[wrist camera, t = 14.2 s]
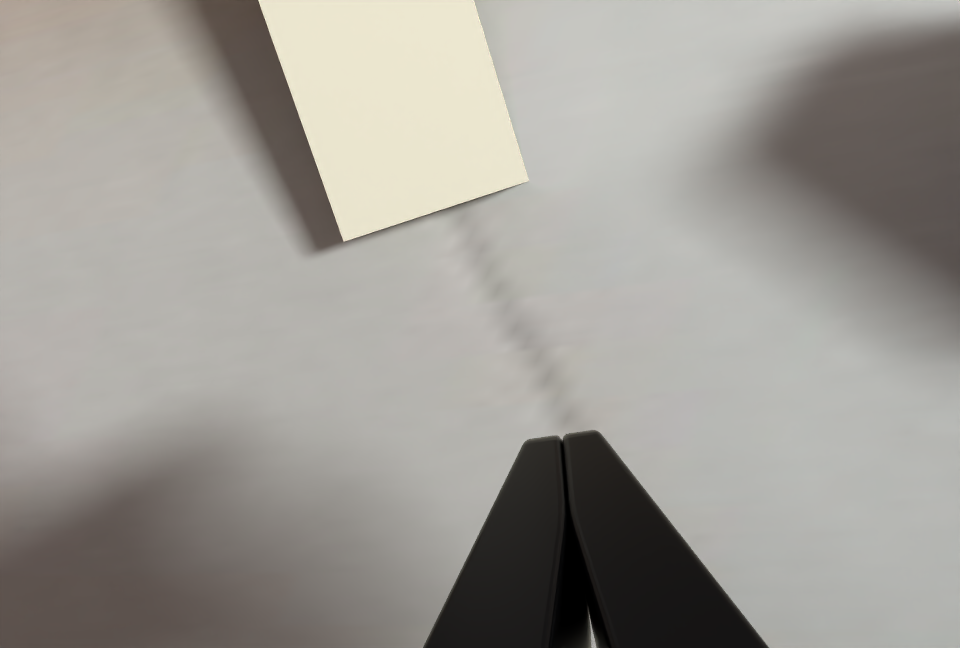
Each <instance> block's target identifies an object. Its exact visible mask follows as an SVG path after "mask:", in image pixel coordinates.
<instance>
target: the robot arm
mask: <svg viewBox="0 0 960 648" xmlns="http://www.w3.org/2000/svg"><path fill="white" fill-rule="evenodd" d="M589 615H590V619H589ZM590 620H591V624H592V629H593V634H594V638H595V642H596V647H597V648H769V647H768V646H767V644H766V643H765V642H764V641H763V639H762V638H761V637H760V636H759V634H758V633H757V632H756V630H755V629H754V628H753V627H752V625H751V624H750V623H749V622H748V620H747V619H746V618H745V616H744V615H743V614H742V613H741V611H740V610H739V609H738V608H737V606H736V605H735V604H734V602H733V601H732V600H731V599H730V597H729V596H728V595H727V594H726V592H725V591H724V590H723V588H722V587H721V586H720V585H719V583H718V582H717V581H716V580H715V578H714V577H713V576H712V574H711V573H710V572H709V571H708V569H707V568H706V567H705V565H704V564H703V563H702V562H701V560H700V559H699V558H698V557H697V555H696V554H695V553H694V551H693V550H692V549H691V548H690V546H689V545H688V544H687V543H686V541H685V540H684V539H683V537H682V536H681V535H680V534H679V532H678V531H677V530H676V529H675V527H674V526H673V525H672V523H671V522H670V521H669V520H668V518H667V517H666V516H665V515H664V513H663V512H662V511H661V509H660V508H659V507H658V506H657V504H656V503H655V502H654V501H653V499H652V498H651V497H650V495H649V494H648V493H647V492H646V490H645V489H644V488H643V486H642V485H641V484H640V483H639V481H638V480H637V479H636V478H635V476H634V475H633V474H632V472H631V471H630V470H629V469H628V467H627V466H626V465H625V464H624V462H623V461H622V460H621V458H620V457H619V456H618V455H617V453H616V452H615V451H614V450H613V448H612V447H611V446H610V444H609V443H608V442H607V441H606V439H605V438H604V437H603V436H602V434H601V433H599V432H598V431H596V430H590V431H583V432H576V433H569V434H566V435H565V436H564V437H563V442H562V439H561V438H560V437H559V436H548V437H541V438H534V439H529V440H527V441H526V442H525V443H524V444H523V446H522V448H521V450H520V452H519V454H518V456H517V458H516V460H515V462H514V464H513V466H512V468H511V470H510V472H509V474H508V476H507V478H506V480H505V482H504V484H503V486H502V488H501V490H500V492H499V494H498V496H497V498H496V500H495V502H494V504H493V506H492V508H491V511H490V513H489V515H488V517H487V519H486V521H485V523H484V525H483V527H482V529H481V531H480V533H479V535H478V537H477V539H476V541H475V543H474V545H473V547H472V549H471V551H470V553H469V555H468V557H467V559H466V561H465V563H464V565H463V567H462V569H461V571H460V573H459V575H458V578H457V580H456V582H455V584H454V586H453V588H452V590H451V592H450V594H449V596H448V598H447V600H446V602H445V604H444V606H443V608H442V610H441V612H440V614H439V616H438V618H437V620H436V622H435V624H434V626H433V628H432V630H431V632H430V634H429V636H428V638H427V640H426V643H425V645H424V647H423V648H591V629H590Z"/></svg>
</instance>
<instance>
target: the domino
mask: <svg viewBox="0 0 960 648" xmlns="http://www.w3.org/2000/svg"><path fill="white" fill-rule="evenodd" d="M258 1H259V4H260V7H261V10H262V12H263V15H264V18H265V21H266V24H267V26H268V29H269V32H270V35H271V38H272V41H273V43H274V46H275V49H276V52H277V55H278V58H279V60H280V63H281V66H282V69H283V72H284V74H285V77H286V80H287V83H288V86H289V89H290V91H291V94H292V97H293V100H294V103H295V106H296V108H297V111H298V114H299V117H300V120H301V123H302V125H303V128H304V131H305V134H306V137H307V139H308V142H309V145H310V148H311V151H312V154H313V156H314V159H315V162H316V165H317V168H318V171H319V173H320V176H321V179H322V182H323V185H324V188H325V190H326V193H327V196H328V199H329V202H330V204H331V207H332V210H333V213H334V216H335V219H336V221H337V224H338V227H339V230H340V233H341V236H342V238H343V241H347V240H350V239H353V238H357V237H360V236H363V235H366V234H369V233H372V232H375V231H378V230H381V229H384V228H387V227H390V226H393V225H396V224H399V223H402V222H405V221H408V220H411V219H414V218H417V217H421V216H424V215H427V214H430V213H433V212H436V211H439V210H442V209H445V208H448V207H451V206H454V205H457V204H460V203H463V202H466V201H469V200H472V199H475V198H478V197H481V196H485V195H488V194H491V193H494V192H497V191H500V190H503V189H506V188H509V187H512V186H515V185H518V184H521V183H524V182H527V181H529V179H528V176H527V172H526V169H525V166H524V163H523V159H522V156H521V153H520V150H519V146H518V143H517V140H516V137H515V133H514V130H513V127H512V123H511V120H510V117H509V114H508V110H507V107H506V104H505V101H504V97H503V94H502V91H501V88H500V84H499V81H498V78H497V75H496V71H495V68H494V65H493V61H492V58H491V55H490V52H489V48H488V45H487V42H486V39H485V35H484V32H483V29H482V26H481V22H480V19H479V16H478V13H477V9H476V6H475V3H474V0H258Z"/></svg>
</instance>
